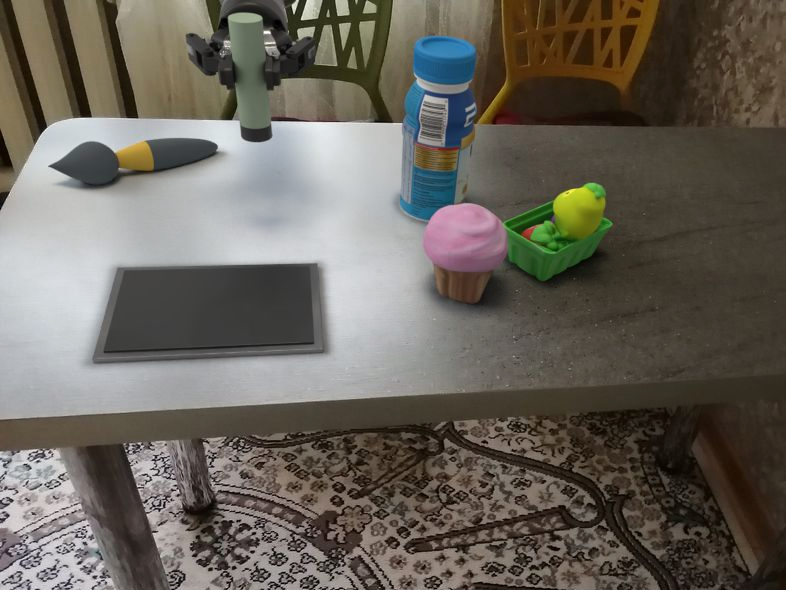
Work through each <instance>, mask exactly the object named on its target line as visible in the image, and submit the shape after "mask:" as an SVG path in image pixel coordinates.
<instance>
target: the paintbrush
mask: <svg viewBox="0 0 786 590" xmlns="http://www.w3.org/2000/svg"><path fill="white" fill-rule="evenodd" d="M218 149H219V145H218V143H216V142H214V141H212V140H208V139H203V138H194V137H165V138H163V137H162V138H153V139H147V140H142V141H139V142H136V143H134V144H131V145H129V146H127V147H126V146H125V147H124V148H121V149H120V150H117V151H114V150H113V149H111V148H110V147H109V146H108V145H107V144H104V143H102V142H99V141H91V140H90V141H84V142H82V143H80V144H78V145H77V146H75V147H74V148H73V149H71V150H70V151H69V152H68V153H66V155H64V156H63V157H62V158H60V159H59V160H57V161H55V162H53V163H51V164H49V165H48V166H47V167H48V168H51V169H53V170H55V171H57V172H59V173H61V174H63V175H66V176H67V177H70V178H72V179H74V180H77V181H79V182H82V183H86V184H89V185H94V186H101V185H105V184H106V185H107V184H108V183H109V182H111V181H113V179H115V177H116V176H117V175H118V173H119V170H120V169H123V170H131V171H142V172H143V171H144V172H155V171H161V170H167V169H171V168H176V167H181V166H183V165H187V164H190V163H194V162H197V161H201V160H203V159H206V158H208V157H210V156H212V154H214V153H216V152H217V150H218Z"/></svg>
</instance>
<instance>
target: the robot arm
mask: <svg viewBox="0 0 786 590" xmlns="http://www.w3.org/2000/svg"><path fill="white" fill-rule="evenodd" d="M218 2H219V3H220V5H221V8H220V13H219V18H218V23H217V29H216V31H215V32H213V33H212V34H211V36H210V38H209V39H206V37H205V36H199V35H198V33H194V32H189V33H186V34H185V41H186V49H187V55H188V60H189V61H190V62H191V63H192V64H193V65H194V66H195V67H196V68H197V69H198V70H199V71H200V72H201V73H202V74H203V75H204V76H208V77H213V76H216V75H217V73H218V83H219V84H220V85H221V86H225V87H226V91H235V90H236V85H235V75H234V66H233V59H232V50H231V41H230V32H229V23H228V16H229V15H231V14H235V13H253V14H257V15H260V16H261V17H262V19H263V31H264V42H265V54H266V60H265V76H266V88H267V91H270V92H274V91H275V87H280V86H281V85H282V78H283V77H282V75H284V74H286V76H288V77H289V78H292V79H293V78H298V77H299V76H301V75H302V74H303V73H304V72H305V71H307V70H308V69H309V68H310V67H311V66H312V65H313V64H314V63H316V43H315V42H316V41H315V39H316V38H315V37H313V36H311V35H310V36H309V35H307V36H304V37H302V38H301V39H299V38H297V39H296V40H295V41H293V38H292V37H291V35H289V27H288V17H287V12H286V8H289V7H290V6H292V5H294V4H295V3H296V2H297V0H218Z"/></svg>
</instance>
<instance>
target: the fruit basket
mask: <svg viewBox="0 0 786 590" xmlns="http://www.w3.org/2000/svg"><path fill="white" fill-rule="evenodd" d="M606 193H607V192H606V190H605V188H604V186H602V185H600V184H598V183H596V182H588V183H586V184H584V185H583V186H582V187H578V188H572V189H569V190H565V191H563V192H561V193H559V194H558V195H557V196H556V198H555V199H554V200H551V201H549V202H547V203H544V204H542V205H540V206H538V207H535V208H533V209H530V210H527V211H526V212H524V213H521V214H519V215H517V216H515V217H512V218H509V219H507V220H505V221H502V223H503V225H504V228H505V229H506V232H507V242H508V250H507V254H508V261H509V262H510V263H512V264H514V265H516V266H518V268H520V269H521V270H523V271H524V272H526V273H527V274H529V275H531V276H534V277H535V278H536V279H537V280H539V281H541V282H545V281H547V280H549V279H551V278H552V277H553V276H555V275H558V274H560V273H563V272H564V271H566V270H567V268H570V267H573V266H575V265H578V264H579V263H580V262H581V261H583V260H587V259H588V258H591V257H592V256H593V254H594V253H595V251H596V249H597V248H598V246H599V245H600V243H601V241H602V240H603V238H604V237H605V235H606V233H608V232H609V230H610V229H611V227H612V226H613V223H612V221H610V220H609V219H607V218H606V217H604V210H605V208H606V196H607V194H606Z"/></svg>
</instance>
